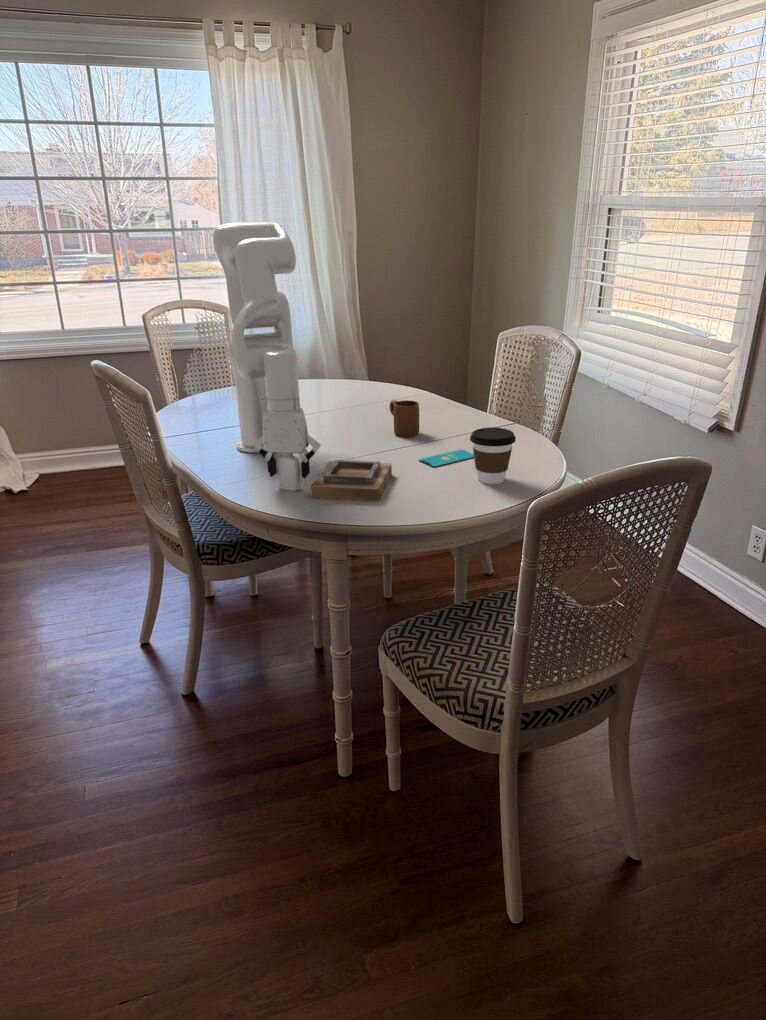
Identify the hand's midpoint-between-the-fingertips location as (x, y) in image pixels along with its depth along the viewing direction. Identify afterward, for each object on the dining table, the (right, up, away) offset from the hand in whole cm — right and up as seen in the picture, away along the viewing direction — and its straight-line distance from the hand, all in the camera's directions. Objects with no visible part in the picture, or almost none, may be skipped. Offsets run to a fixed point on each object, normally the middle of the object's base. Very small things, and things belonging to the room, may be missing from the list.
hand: (289, 475), depth 171 cm
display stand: (+15, -3, +1) cm, 16 cm away
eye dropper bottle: (0, -3, +1) cm, 4 cm away
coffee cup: (+49, -1, +3) cm, 49 cm away
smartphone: (+40, +5, +19) cm, 45 cm away
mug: (+29, +15, +42) cm, 53 cm away
